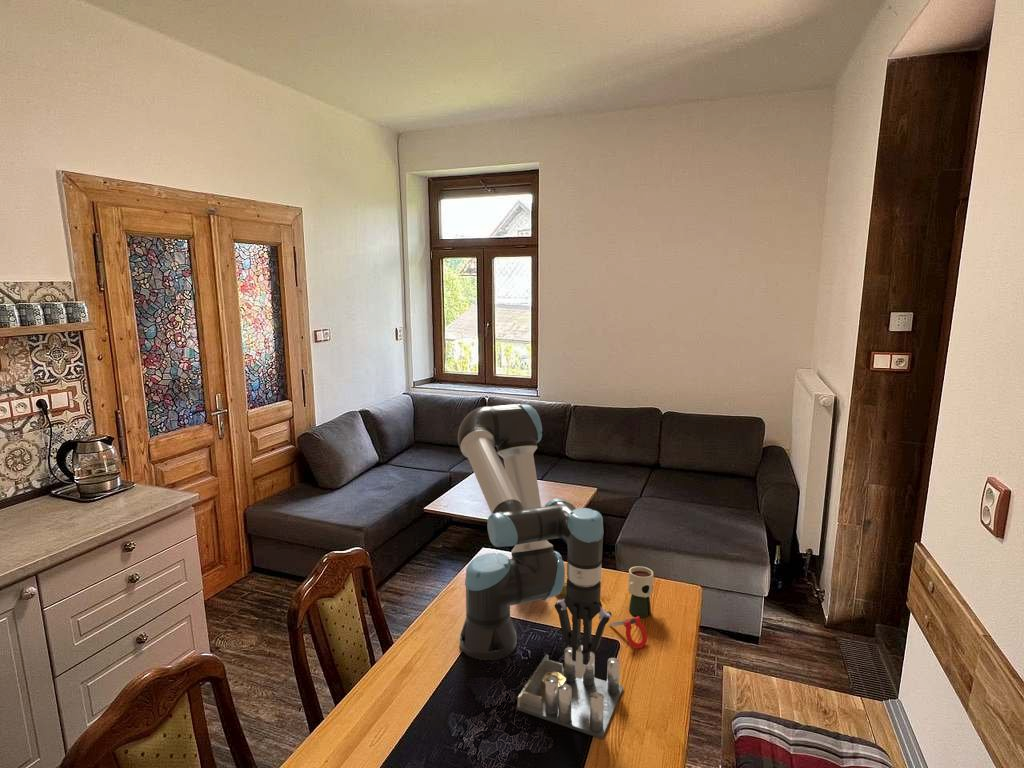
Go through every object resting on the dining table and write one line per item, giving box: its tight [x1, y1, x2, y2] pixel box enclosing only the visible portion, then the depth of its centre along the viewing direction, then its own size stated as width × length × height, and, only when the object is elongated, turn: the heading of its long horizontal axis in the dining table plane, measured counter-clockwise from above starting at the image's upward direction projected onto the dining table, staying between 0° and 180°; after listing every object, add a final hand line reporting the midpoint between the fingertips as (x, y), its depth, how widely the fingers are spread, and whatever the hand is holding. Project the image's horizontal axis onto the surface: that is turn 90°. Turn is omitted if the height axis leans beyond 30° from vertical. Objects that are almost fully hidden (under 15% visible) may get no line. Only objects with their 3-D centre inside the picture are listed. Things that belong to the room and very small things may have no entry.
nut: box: [542, 672, 566, 698], centre depth 130 cm, size 5×6×3 cm
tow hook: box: [609, 616, 648, 649], centre depth 153 cm, size 7×10×7 cm
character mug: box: [628, 565, 654, 618], centre depth 164 cm, size 11×7×13 cm, turn 132°
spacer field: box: [516, 646, 624, 740], centre depth 129 cm, size 20×17×8 cm
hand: (580, 674), depth 128 cm, fingers closed
